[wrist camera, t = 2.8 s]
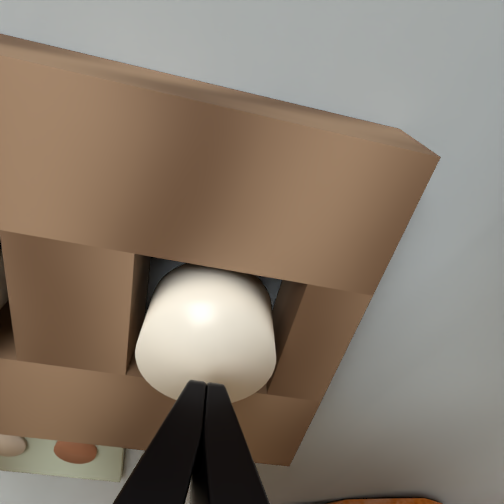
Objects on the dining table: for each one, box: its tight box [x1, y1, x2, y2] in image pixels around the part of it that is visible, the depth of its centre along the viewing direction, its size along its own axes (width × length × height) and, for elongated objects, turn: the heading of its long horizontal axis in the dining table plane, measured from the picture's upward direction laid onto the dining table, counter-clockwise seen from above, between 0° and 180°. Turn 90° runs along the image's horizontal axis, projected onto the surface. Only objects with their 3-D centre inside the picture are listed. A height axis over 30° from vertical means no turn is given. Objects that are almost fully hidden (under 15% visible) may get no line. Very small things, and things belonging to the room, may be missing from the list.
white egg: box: [135, 263, 276, 403], centre depth 11 cm, size 4×4×2 cm
